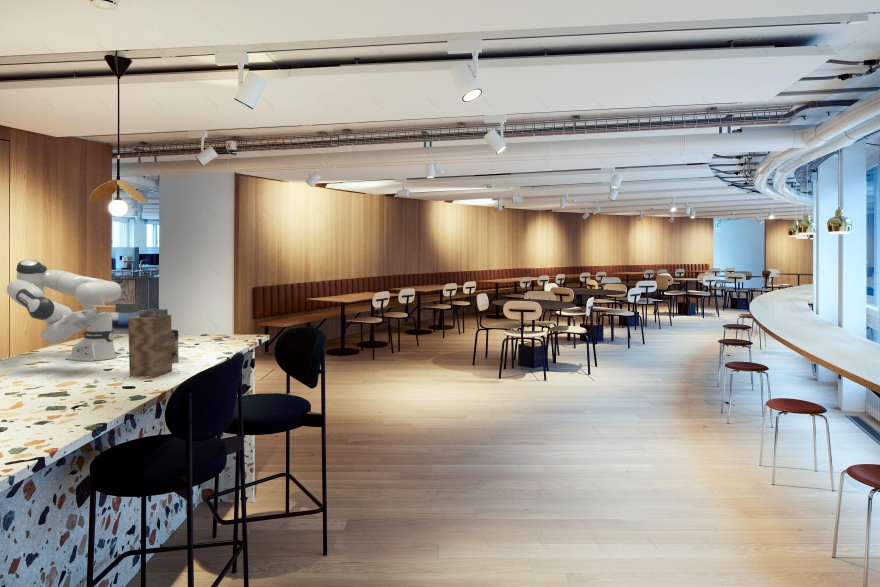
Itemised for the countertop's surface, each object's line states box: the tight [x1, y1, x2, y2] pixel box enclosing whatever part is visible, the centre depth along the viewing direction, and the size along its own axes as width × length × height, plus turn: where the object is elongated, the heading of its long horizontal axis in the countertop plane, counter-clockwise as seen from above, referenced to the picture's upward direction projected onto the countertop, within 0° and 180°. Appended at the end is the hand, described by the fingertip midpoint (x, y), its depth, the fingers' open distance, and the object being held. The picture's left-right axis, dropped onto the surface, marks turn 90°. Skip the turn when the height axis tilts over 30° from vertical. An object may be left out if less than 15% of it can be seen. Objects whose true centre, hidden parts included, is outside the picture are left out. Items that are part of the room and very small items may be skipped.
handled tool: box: [90, 302, 138, 314], centre depth 270 cm, size 20×5×4 cm, turn 86°
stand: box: [127, 308, 173, 378], centre depth 270 cm, size 12×14×29 cm
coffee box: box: [171, 328, 180, 364], centre depth 296 cm, size 9×6×16 cm
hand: (100, 307), depth 270 cm, fingers closed on handled tool, 3 cm apart
